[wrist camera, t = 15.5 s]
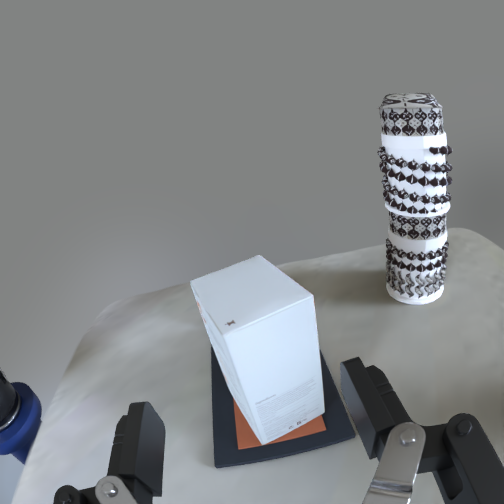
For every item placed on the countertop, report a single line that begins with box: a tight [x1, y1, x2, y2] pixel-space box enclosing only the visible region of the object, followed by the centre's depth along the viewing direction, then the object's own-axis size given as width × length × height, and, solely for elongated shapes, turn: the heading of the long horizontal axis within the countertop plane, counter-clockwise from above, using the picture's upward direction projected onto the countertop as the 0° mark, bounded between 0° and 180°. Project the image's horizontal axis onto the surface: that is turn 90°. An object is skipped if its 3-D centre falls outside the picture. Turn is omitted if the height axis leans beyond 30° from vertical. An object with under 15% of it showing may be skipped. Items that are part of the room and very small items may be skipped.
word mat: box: [211, 344, 355, 468], centre depth 34 cm, size 12×28×1 cm, turn 6°
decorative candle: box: [378, 93, 452, 305], centre depth 33 cm, size 9×9×25 cm
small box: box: [190, 255, 325, 445], centre depth 24 cm, size 8×6×13 cm
